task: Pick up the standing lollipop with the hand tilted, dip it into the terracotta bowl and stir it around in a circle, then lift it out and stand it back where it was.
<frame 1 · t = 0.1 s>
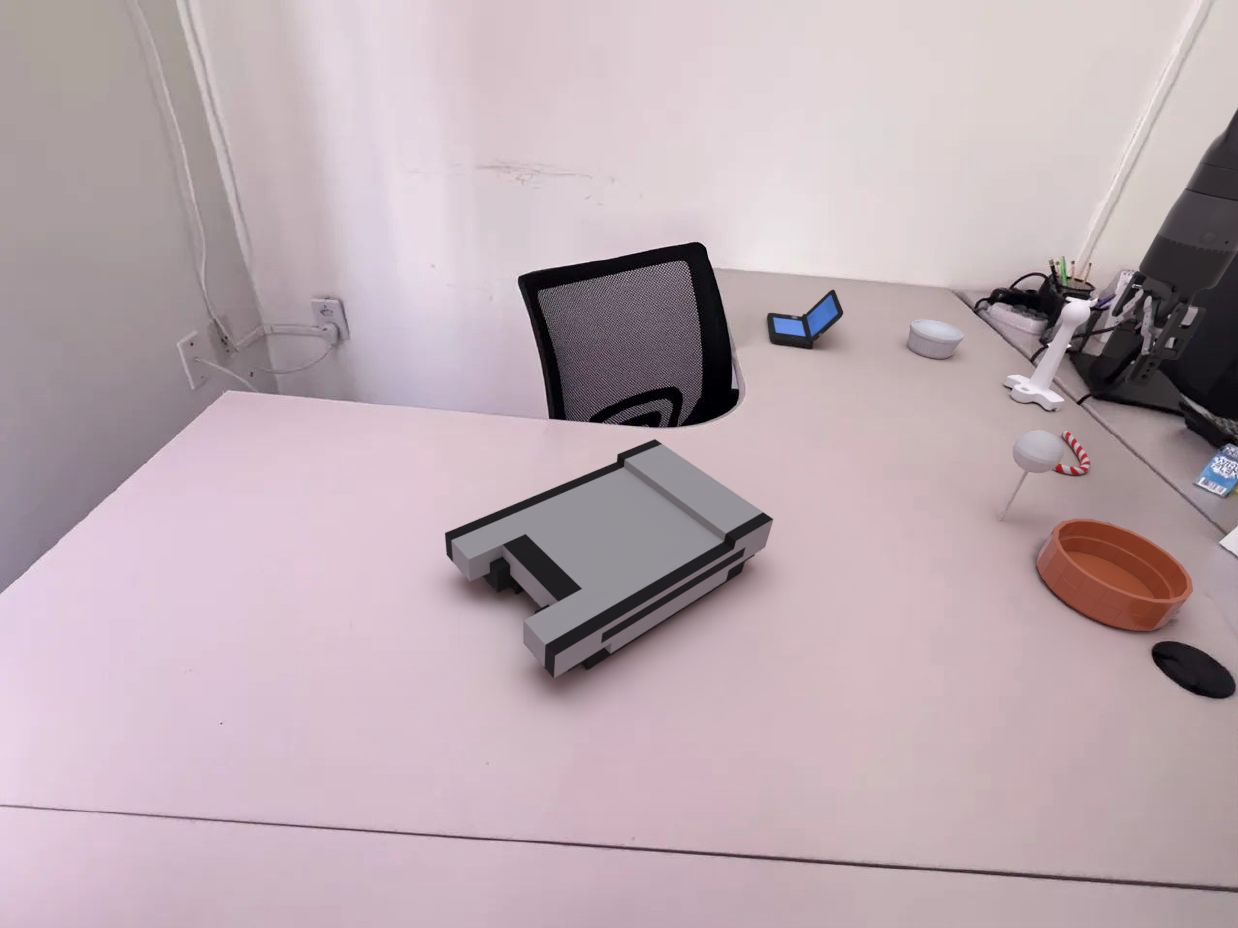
hand: (1121, 369, 81), 25 cm above the table, tool pointing down, fingers open, 8 cm apart
bowl: (1098, 588, 85), on the table
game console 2: (609, 574, 79), on the table
game console: (797, 335, 147), on the table
lollipop: (999, 520, 96), on the table
candy cane: (1061, 454, 113), on the table
ramekin: (928, 351, 146), on the table
joystick: (1026, 399, 130), on the table
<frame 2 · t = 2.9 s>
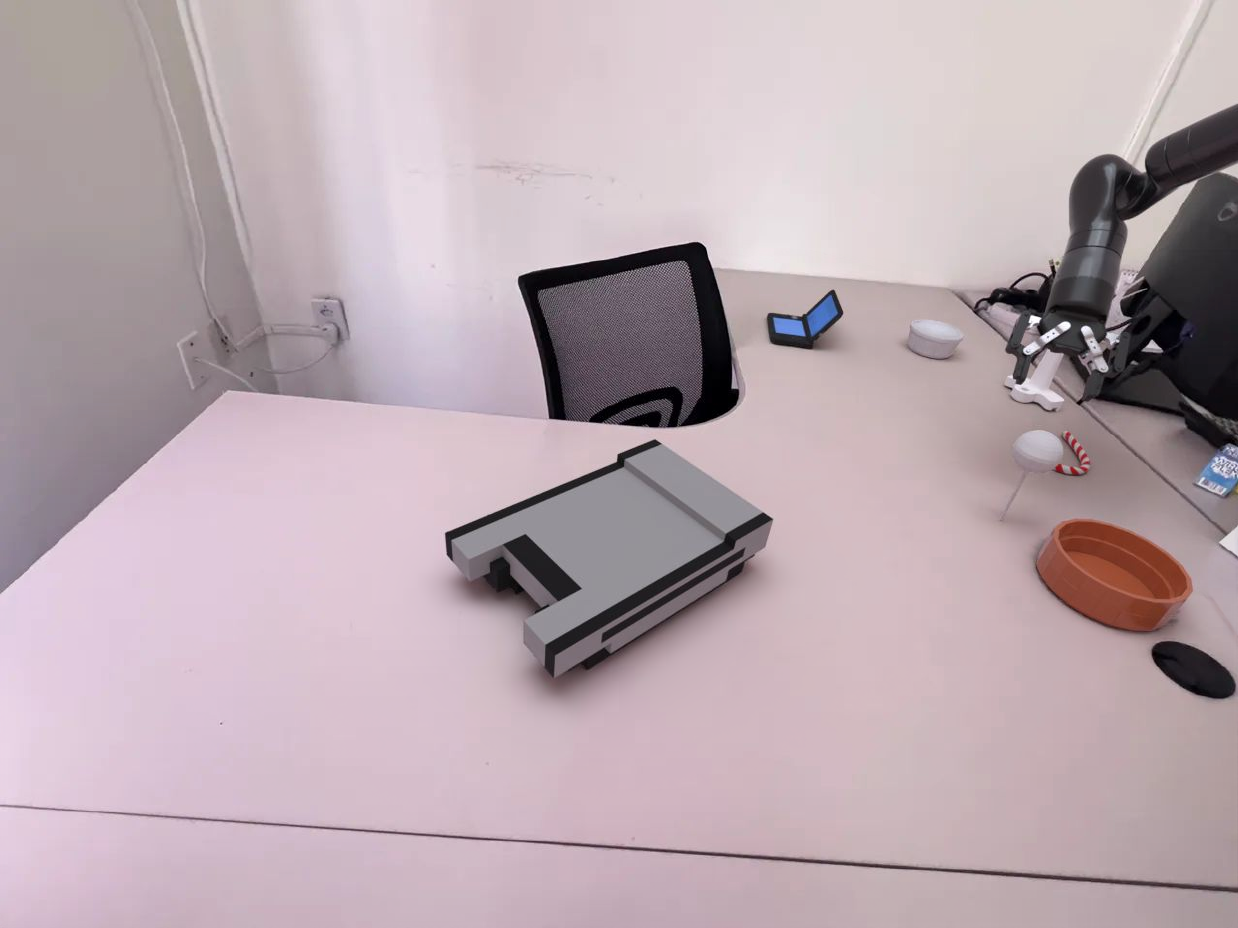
hand: (1053, 391, 91), 18 cm above the table, tool tilted 45°, fingers open, 8 cm apart
nothing on the table moved.
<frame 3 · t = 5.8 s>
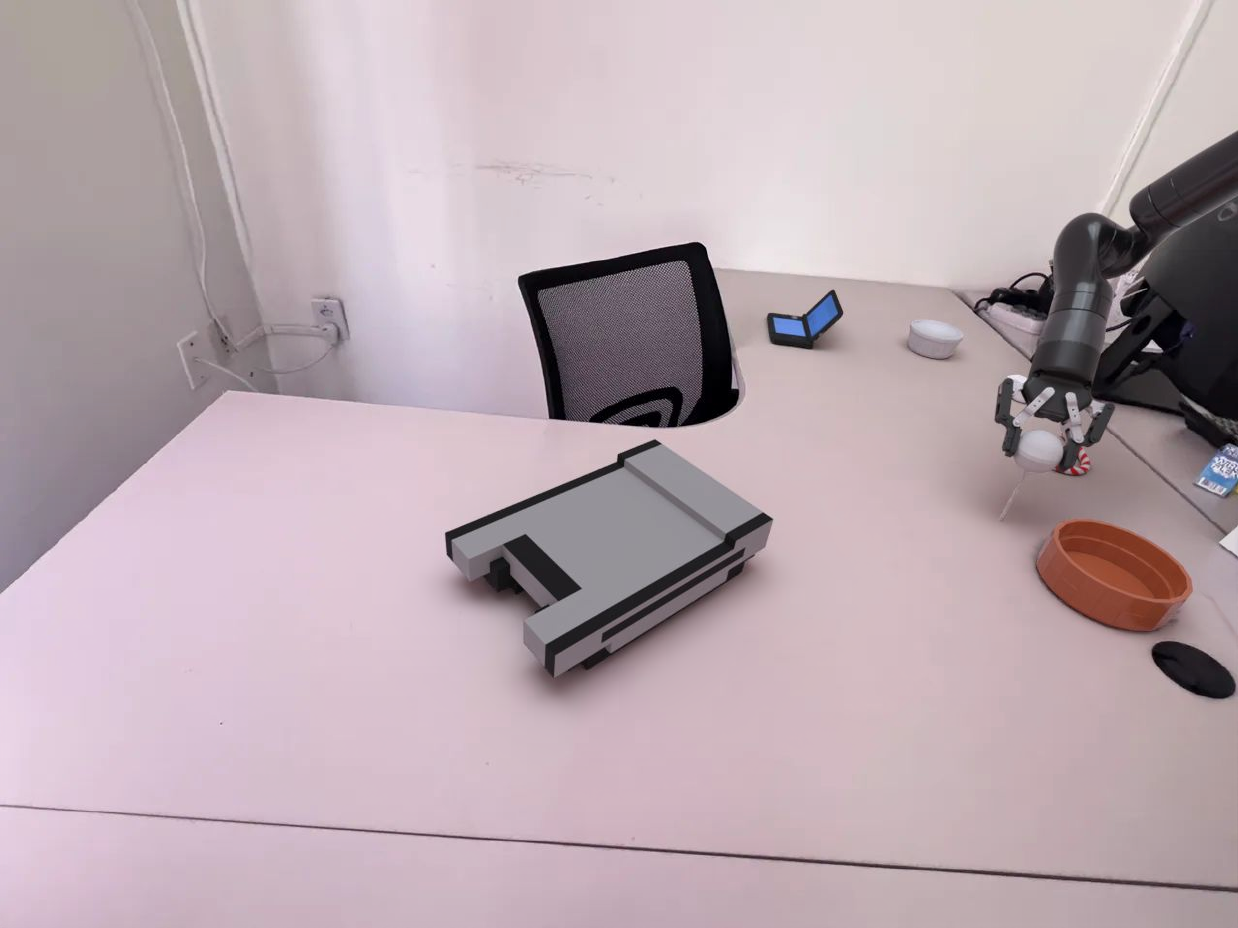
hand: (1036, 462, 88), 11 cm above the table, tool tilted 45°, fingers closed on lollipop, 6 cm apart
lollipop: (999, 520, 96), on the table, touching gripper
everything else where it was.
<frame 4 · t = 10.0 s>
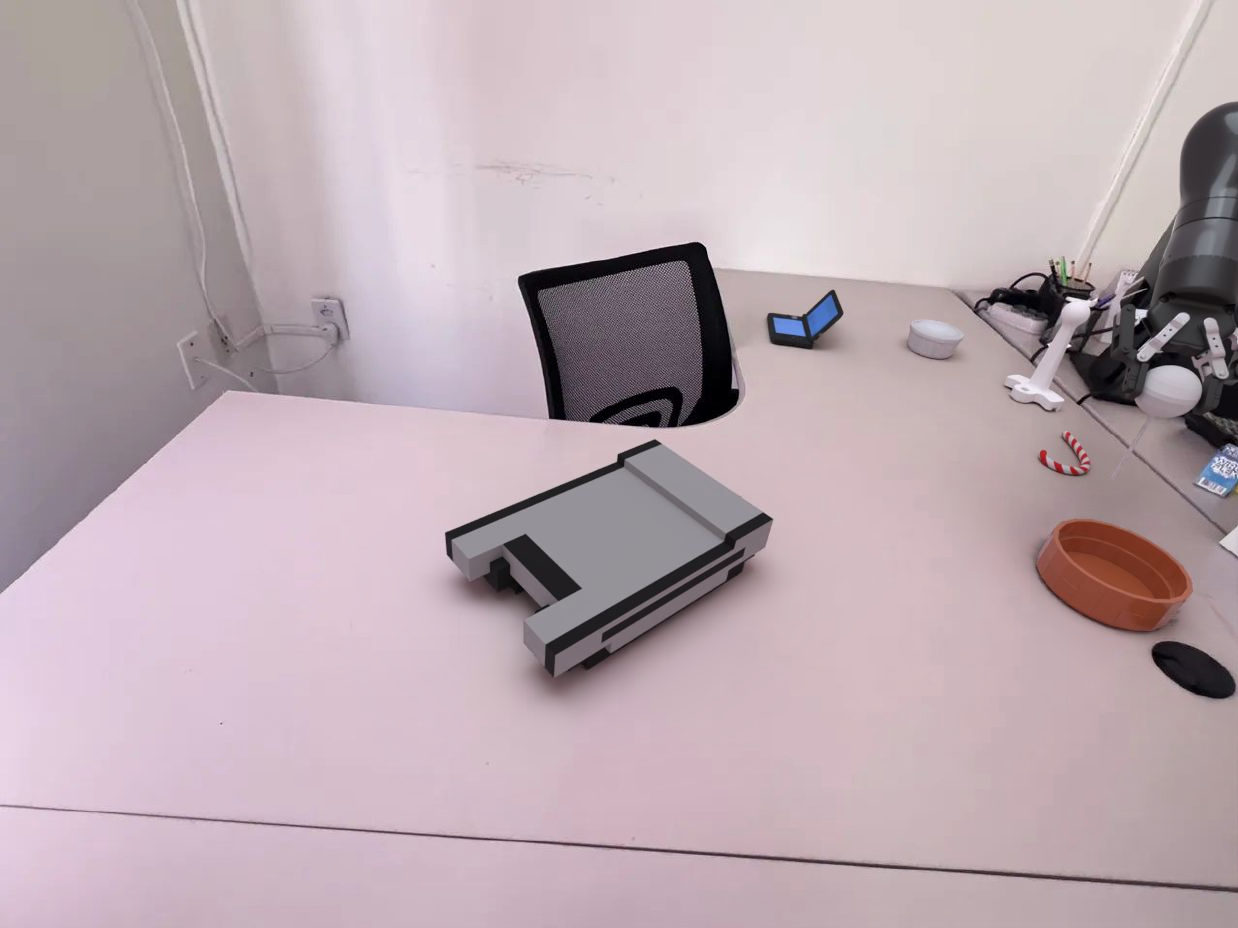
hand: (1167, 404, 72), 26 cm above the table, tool tilted 45°, fingers closed on lollipop, 6 cm apart
lollipop: (1111, 479, 80), point 14 cm above the table, touching gripper
everything else where it was.
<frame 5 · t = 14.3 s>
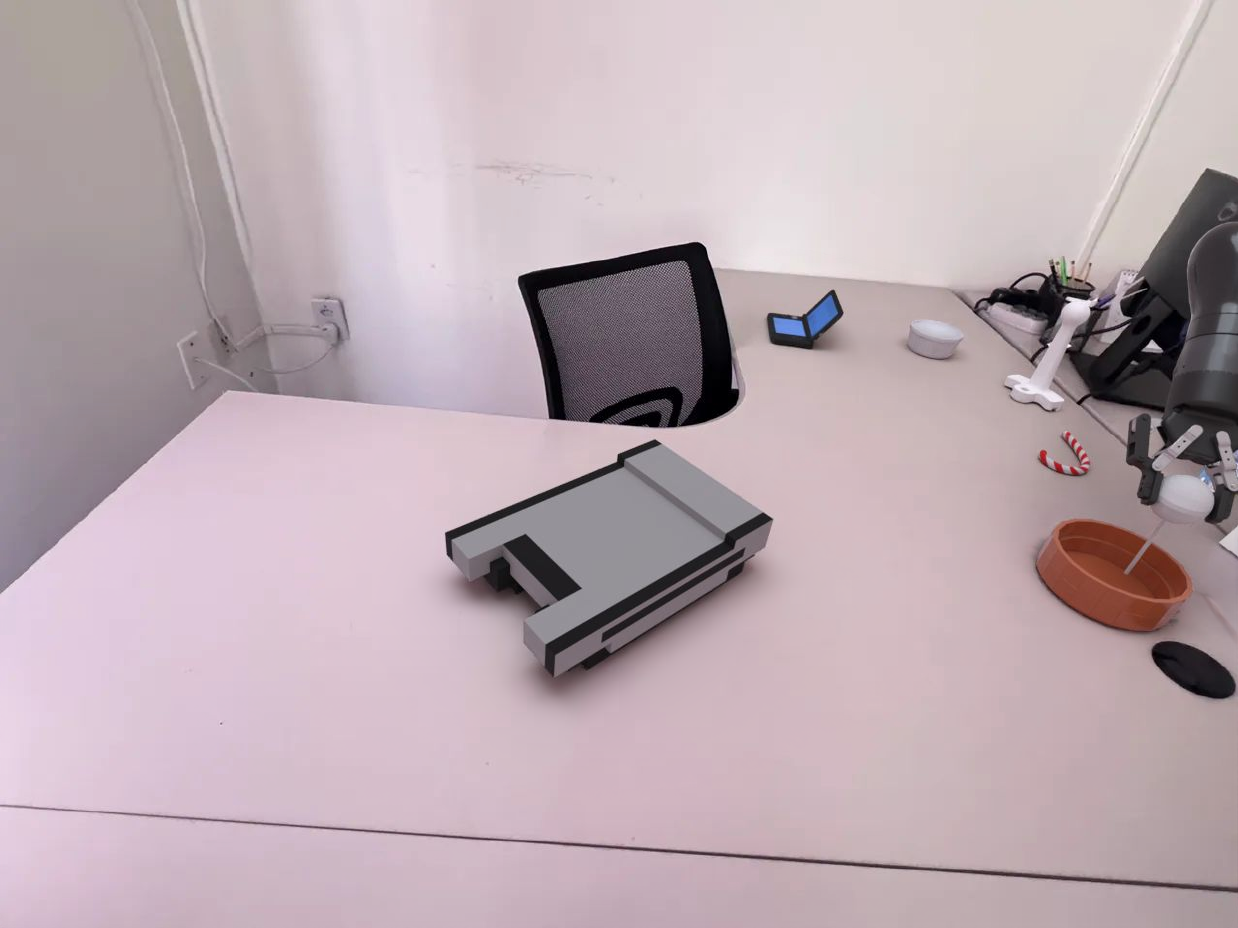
hand: (1180, 512, 76), 14 cm above the table, tool tilted 45°, fingers closed on lollipop, 6 cm apart
lollipop: (1125, 574, 83), point 3 cm above the table, touching gripper
everything else where it was.
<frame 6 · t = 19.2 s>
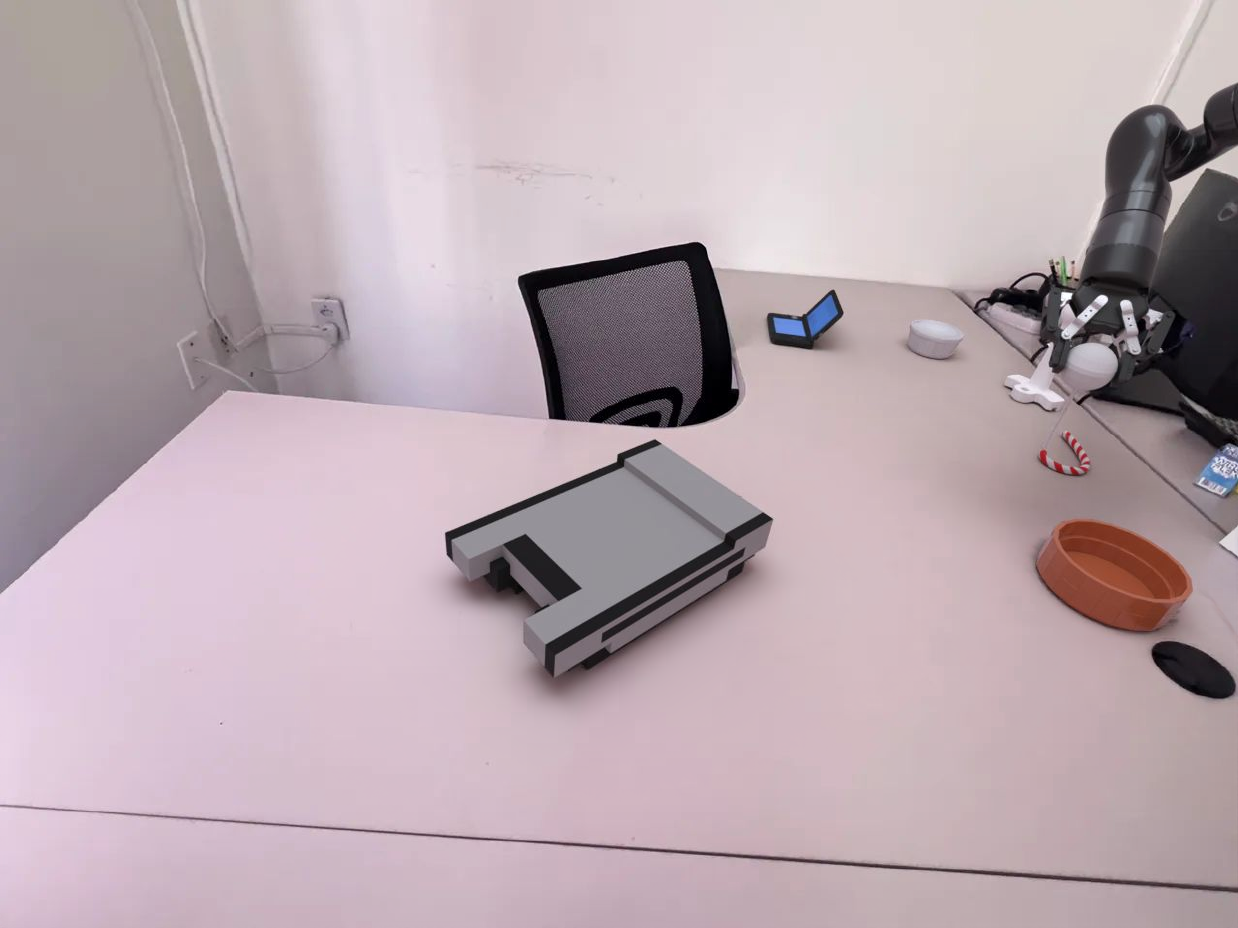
hand: (1087, 377, 80), 24 cm above the table, tool tilted 45°, fingers closed on lollipop, 6 cm apart
lollipop: (1042, 448, 88), point 13 cm above the table, touching gripper
everything else where it was.
when the fingers open (11 cm above the table, at t = 23.2 s): lollipop stays where it is, on the table.
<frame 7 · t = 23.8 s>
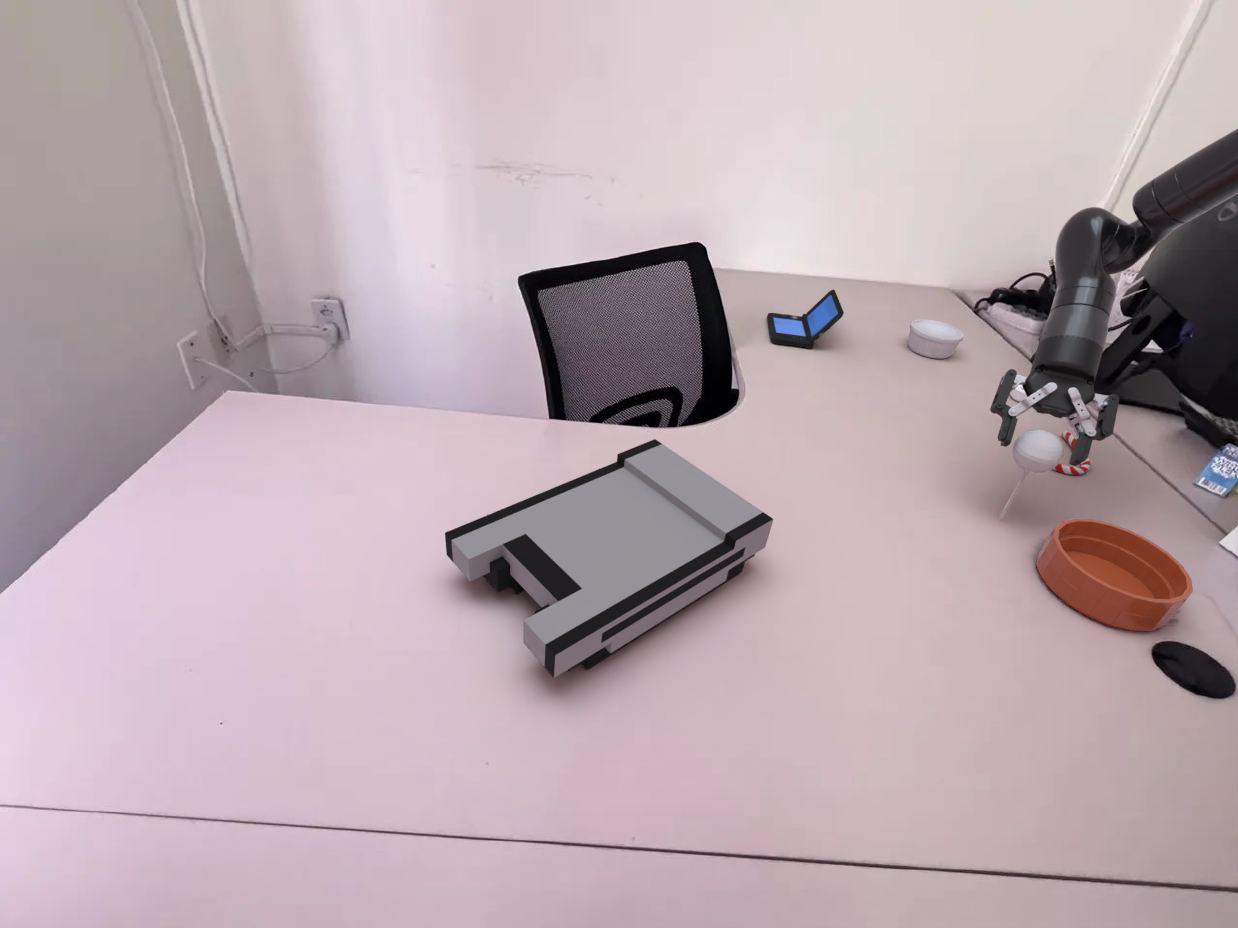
hand: (1039, 454, 88), 12 cm above the table, tool tilted 45°, fingers open, 8 cm apart
lollipop: (999, 520, 96), on the table
everything else where it was.
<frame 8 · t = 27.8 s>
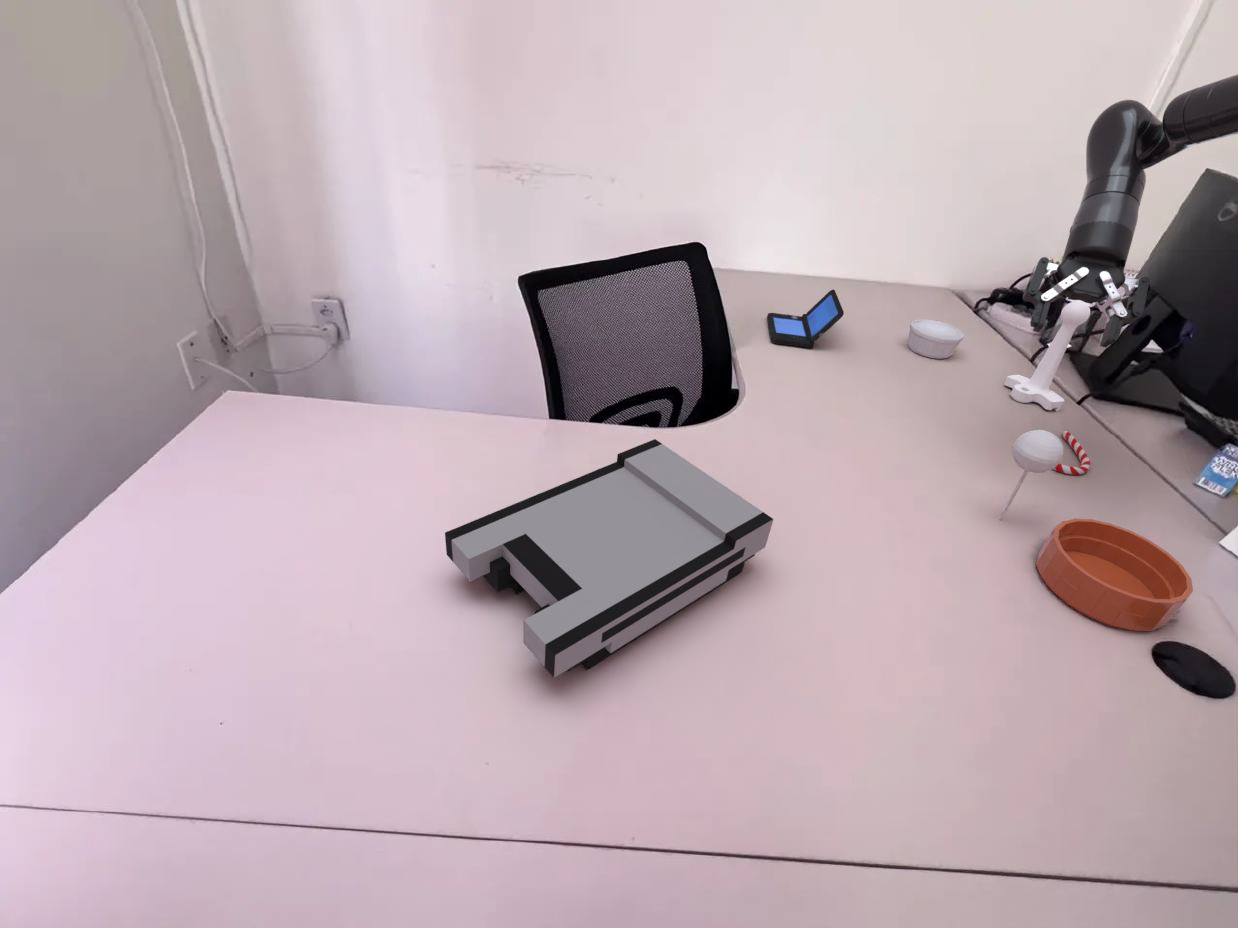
hand: (1071, 337, 91), 25 cm above the table, tool tilted 45°, fingers open, 8 cm apart
nothing on the table moved.
at the end: lollipop inside the target area (0.1 cm from its centre), on the table; lollipop tilted 0°; the gripper is holding nothing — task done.
